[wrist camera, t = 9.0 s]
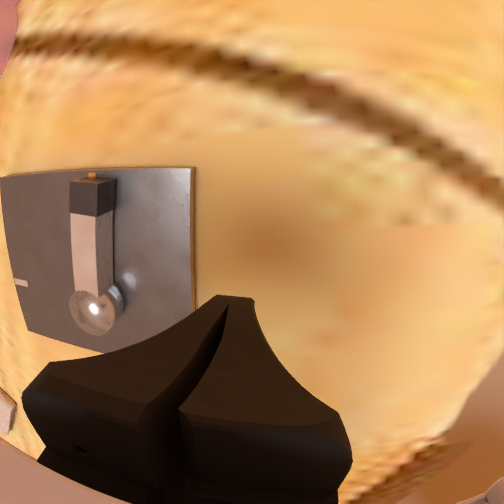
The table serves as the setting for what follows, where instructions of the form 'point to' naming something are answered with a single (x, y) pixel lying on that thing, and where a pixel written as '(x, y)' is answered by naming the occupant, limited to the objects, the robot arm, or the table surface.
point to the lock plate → (124, 251)
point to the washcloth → (6, 413)
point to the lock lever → (93, 255)
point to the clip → (7, 30)
